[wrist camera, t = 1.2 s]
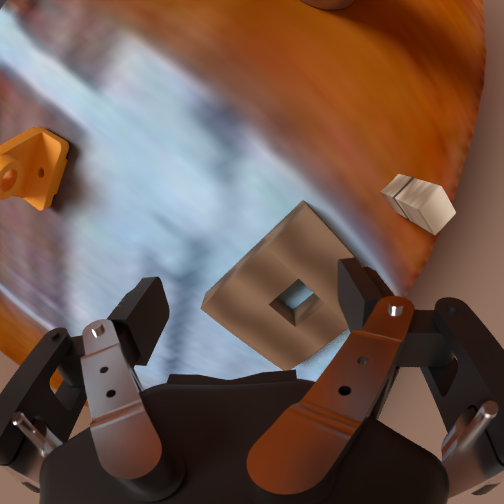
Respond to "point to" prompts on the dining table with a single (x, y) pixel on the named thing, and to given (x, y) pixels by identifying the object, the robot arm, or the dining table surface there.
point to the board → (276, 282)
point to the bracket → (33, 166)
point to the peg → (419, 202)
